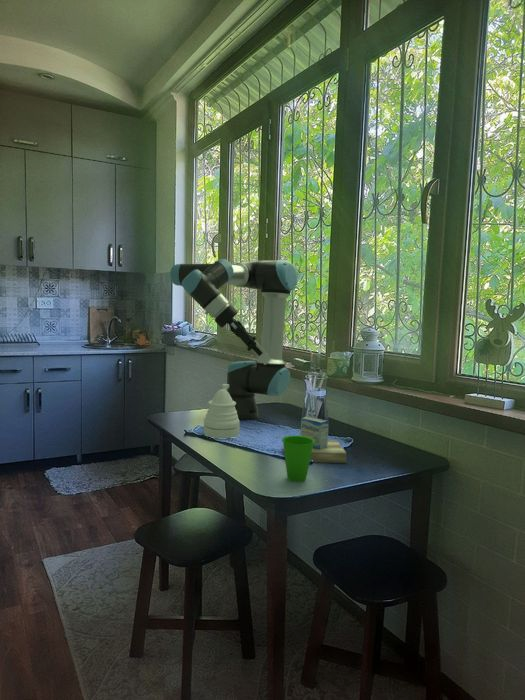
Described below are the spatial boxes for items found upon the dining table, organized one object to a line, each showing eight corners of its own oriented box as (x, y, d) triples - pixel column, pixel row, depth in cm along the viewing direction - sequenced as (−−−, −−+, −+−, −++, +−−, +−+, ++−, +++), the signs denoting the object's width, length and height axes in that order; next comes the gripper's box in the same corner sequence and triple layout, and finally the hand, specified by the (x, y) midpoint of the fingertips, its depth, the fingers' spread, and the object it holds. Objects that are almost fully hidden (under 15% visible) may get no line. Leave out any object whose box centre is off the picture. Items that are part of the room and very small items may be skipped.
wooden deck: (283, 447, 163) (283, 439, 163) (336, 448, 164) (337, 440, 164) (287, 461, 149) (288, 452, 149) (345, 462, 150) (346, 453, 150)
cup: (280, 483, 131) (281, 443, 130) (280, 471, 140) (282, 434, 139) (313, 485, 131) (315, 445, 130) (312, 473, 140) (313, 436, 139)
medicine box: (299, 444, 157) (300, 418, 157) (307, 441, 161) (308, 415, 160) (320, 449, 152) (321, 422, 152) (327, 446, 156) (329, 420, 155)
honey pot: (216, 427, 186) (217, 381, 184) (245, 433, 180) (247, 384, 178) (196, 435, 174) (197, 385, 173) (227, 441, 168) (228, 390, 167)
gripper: (214, 317, 169) (256, 362, 171) (211, 321, 144) (260, 372, 147) (230, 303, 169) (272, 347, 171) (229, 303, 144) (278, 355, 146)
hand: (266, 359), depth 159 cm, fingers open, 13 cm apart
